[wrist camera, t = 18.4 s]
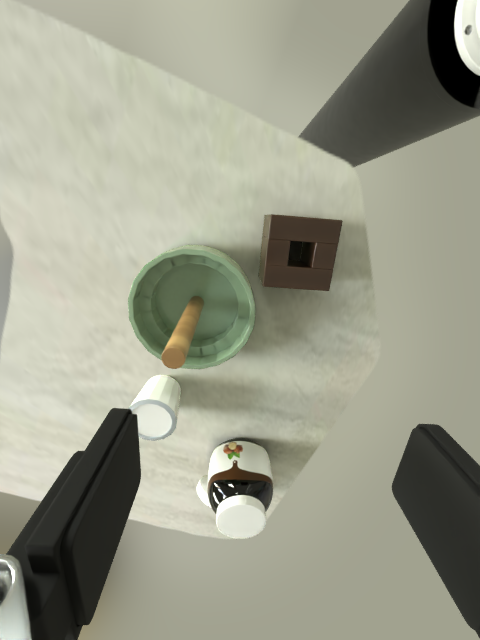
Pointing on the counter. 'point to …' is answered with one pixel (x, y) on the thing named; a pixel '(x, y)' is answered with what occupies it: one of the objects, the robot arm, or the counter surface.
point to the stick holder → (314, 254)
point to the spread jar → (238, 487)
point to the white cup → (157, 407)
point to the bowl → (175, 293)
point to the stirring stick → (183, 335)
